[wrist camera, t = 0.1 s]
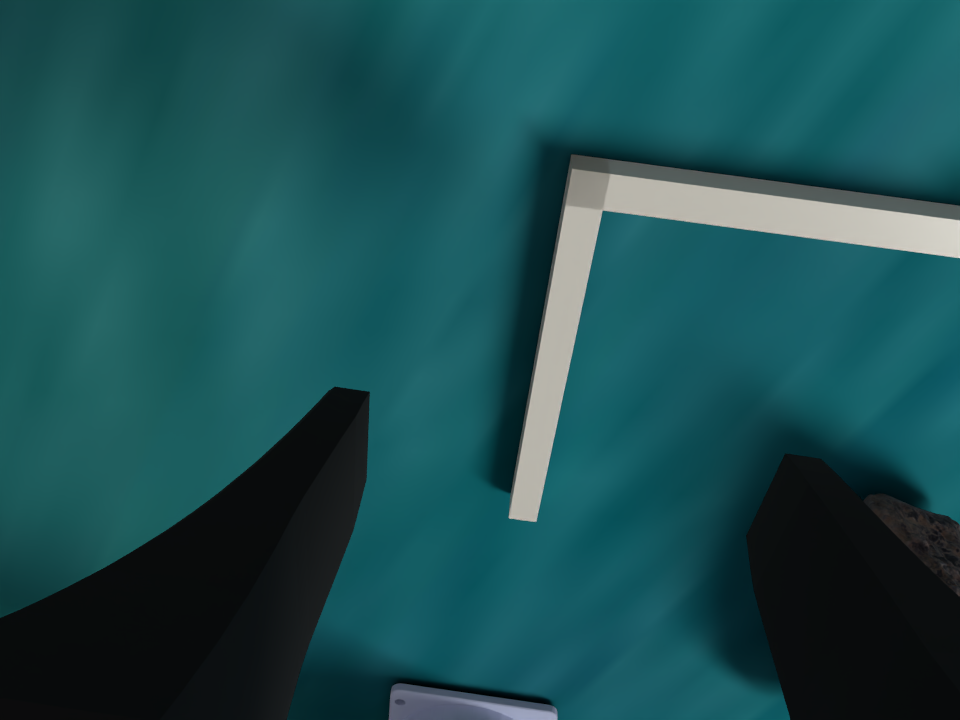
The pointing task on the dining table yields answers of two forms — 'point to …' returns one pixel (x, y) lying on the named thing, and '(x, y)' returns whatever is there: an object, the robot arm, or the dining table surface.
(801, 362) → the dining table surface
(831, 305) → the dining table surface
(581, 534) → the dining table surface
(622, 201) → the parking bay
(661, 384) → the dining table surface
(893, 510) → the perforated stone tool
